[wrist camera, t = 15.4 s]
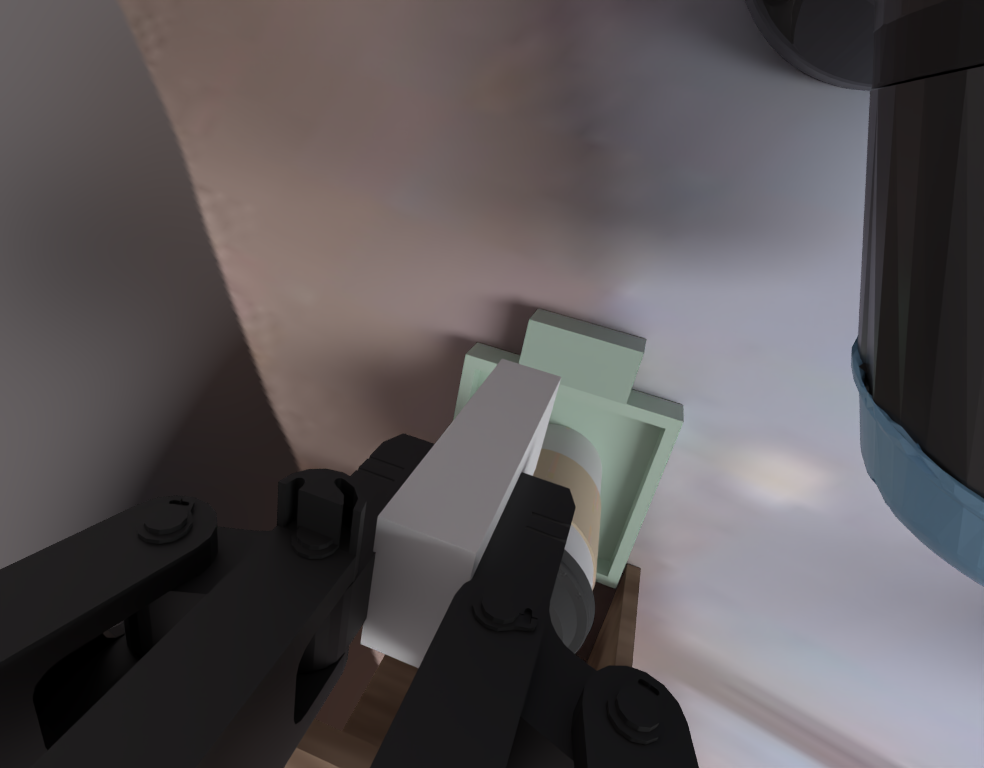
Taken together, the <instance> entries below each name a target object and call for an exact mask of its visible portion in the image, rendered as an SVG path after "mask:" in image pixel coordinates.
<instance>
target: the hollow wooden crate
mask: <svg viewBox="0 0 984 768" xmlns="http://www.w3.org/2000/svg"><path fill="white" fill-rule="evenodd" d="M640 570H641V568H638V567H635V566H632V565H629V564H627V566H626V568H625V571H624V573H623V576H622V578H621V580H620V583H619V585H618V588H617V590H616V593H615V595H614V598H613V600H612V602H611V605H610V607H609V610H608V612H607V615H606V617H605V620H604V622H603V625H602V627H601V629H600V632H599V634H598V637H597V639H596V642H595V644H594V647H593V649H592V652H591V654H590V656H589V659H588V661H587V664H588V665H590V666H591V667H592V668H594V669H595V670H596V671H598V670H600V669H602V668H604V667H606V666H609V665H615V666H629V667H632V662H633V651H634V639H635V628H636V616H637V605H638V593H639V582H640ZM359 630H360V629H359ZM357 633H358V632H357ZM417 670H418V668H417V667H414V666H412V665H410V664H407V663H405V662H403V661H400V660H398V659H395V658H393V657H391V656H388V655H386V654H385V656H384V658H383V660H382V661H381V663H380V665H379V667H378V668H377V670H376V672H375V674H374V676H373V677H372V679H371V681H370V683H369V684H368V686H367V688H366V690H365V691H364V693H363V695H362V697H361V699H360V701H359V702H358V704H357V706H356V707H355V709H354V711H353V713H352V714H351V716H350V718H349V720H348V722H347V723H346V725H345V727H344V729H343V730H342V731H341V730H338V729H336V728H334V727H332V726H330V725H327V724H325V723H323V722H320V721H319V720H317V719H314V720H313V722H312V723H311V725H310V726H309V728H308V730H307V731H306V733H305V735H304V736H303V738H302V739H301V741H300V743H299V744H298V746H297V747H296V749H295V751H294V752H293V754H292V756H291V757H290V759H289V760H288V762H287V764H286V765H285V767H284V768H370V766H371V764H372V762H373V760H374V758H375V756H376V754H377V752H378V750H379V748H380V746H381V744H382V742H383V740H384V738H385V736H386V734H387V731H388V729H389V727H390V725H391V723H392V721H393V719H394V717H395V715H396V713H397V711H398V709H399V707H400V705H401V703H402V701H403V699H404V697H405V695H406V693H407V691H408V689H409V687H410V685H411V683H412V681H413V679H414V677H415V675H416V672H417Z"/></svg>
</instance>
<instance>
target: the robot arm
mask: <svg viewBox="0 0 984 768" xmlns="http://www.w3.org/2000/svg"><path fill="white" fill-rule="evenodd" d="M746 3H747V6H748V9H749V11H750V13H751V15H752V17H753V20H754V21H755V23H756V25H757V27H758V28H759V30H760V32H761V33H762V34H763V36H764V37H765V39H766V40H767V41H768V42H769V44H770V45H771V46H772V47H773V48H774V49H775V50H776V51H777V52H778V53H779V54H780V55H781V56H782V57H783V58H784V59H785V60H786V61H788V62H789V63H790V64H791V65H793V66H794V67H796V68H797V69H799V70H800V71H802V72H804V73H806V74H807V75H809V76H811V77H813V78H816V79H818V80H820V81H823V82H826V83H829V84H832V85H835V86H840V87H844V88H849V89H856V90H867V91H870V106H869V127H868V147H867V167H866V187H865V208H864V228H863V248H862V268H861V289H860V309H859V329H858V337H857V339H856V341H855V343H854V344H853V346H852V354H851V367H852V373H853V378H854V381H855V384H856V386H857V388H858V391H859V403H860V444H861V452H862V457H863V460H864V463H865V466H866V469H867V473H868V474H869V476H870V478H871V479H872V480H873V481H874V482H875V483H876V485H877V487H878V489H879V490H880V492H881V494H882V496H883V499H884V501H885V503H886V504H887V505H888V506H889V507H890V509H891V511H892V512H893V514H894V515H895V516H896V517H897V518H898V520H899V521H900V522H902V523H903V524H904V525H905V526H906V527H907V528H908V529H909V530H910V531H911V532H912V533H913V534H914V535H915V536H916V537H917V538H918V539H919V540H920V541H921V542H922V543H923V544H924V545H926V546H927V547H928V548H929V549H930V550H932V551H933V552H934V553H935V554H937V555H938V556H939V557H940V558H942V559H943V560H944V561H946V562H947V563H948V564H950V565H951V566H953V567H954V568H956V569H957V570H959V571H960V572H961V573H963V574H964V575H966V576H968V577H969V578H971V579H972V580H974V581H975V582H977V583H978V584H980V585H982V586H983V587H984V0H746ZM560 380H561V377H560V376H557V375H554V374H550V373H547V372H544V371H541V370H537V369H534V368H531V367H528V366H524V365H521V364H518V363H515V362H511V361H508V360H505V359H501V361H500V362H499V363H498V364H497V366H496V367H495V368H494V369H493V371H492V372H491V373H490V375H489V376H488V377H487V378H486V380H485V381H484V382H483V383H482V385H481V386H480V387H479V389H478V390H477V391H476V392H475V394H474V395H473V396H472V397H471V399H470V400H469V401H468V402H467V404H466V405H465V406H464V408H463V409H462V410H461V411H460V413H459V414H458V415H457V416H456V418H455V419H454V420H453V422H452V423H451V424H450V425H449V427H448V428H447V429H446V430H445V432H444V433H443V434H442V435H441V437H440V438H439V439H438V441H437V442H436V443H435V444H433V443H430V442H427V441H424V440H421V439H418V438H416V437H413V436H410V435H407V434H401V435H399V436H397V437H394V438H392V439H390V440H387V441H385V442H383V443H382V444H381V445H380V446H379V447H378V448H377V449H376V450H375V451H374V452H373V453H372V454H371V455H370V458H369V459H367V460H366V461H365V462H364V463H363V464H362V465H361V466H360V467H359V469H358V471H357V470H356V471H355V472H354V473H353V474H352V475H351V476H349V475H347V474H345V473H343V472H338V471H334V470H329V469H308V470H304V471H300V472H296V473H293V474H291V475H289V476H287V477H286V478H284V479H282V480H280V481H279V482H278V512H277V526H276V527H275V528H274V529H273V530H272V531H253V530H244V529H235V528H225V527H217V517H216V512H215V511H214V510H213V509H212V507H211V506H210V505H209V504H208V503H206V502H204V501H201V500H199V499H197V498H194V497H185V496H168V497H159V498H155V499H152V500H149V501H146V502H143V503H141V504H138V505H136V506H134V507H131V508H130V509H127V510H125V511H123V512H121V513H119V514H117V515H115V516H112V517H110V518H108V519H106V520H104V521H102V522H100V523H98V524H96V525H93V526H91V527H89V528H87V529H85V530H83V531H81V532H79V533H76V534H75V535H72V536H70V537H68V538H66V539H64V540H62V541H59V542H57V543H55V544H53V545H51V546H49V547H47V548H45V549H43V550H40V551H39V552H36V553H34V554H32V555H30V556H28V557H26V558H24V559H22V560H20V561H17V562H15V563H13V564H11V565H9V566H7V567H5V568H2V569H0V768H284V767H285V765H286V764H287V762H288V760H289V759H290V757H291V756H292V754H293V752H294V751H295V749H296V747H297V746H298V744H299V743H300V741H301V739H302V738H303V736H304V735H305V733H306V731H307V730H308V728H309V726H310V725H311V723H312V722H313V720H314V718H315V717H316V715H317V714H318V712H319V710H320V709H321V707H322V705H323V704H324V702H325V701H326V699H327V697H328V696H329V694H330V692H331V691H332V689H333V688H334V686H335V684H336V683H337V681H338V679H339V678H340V676H341V675H342V673H343V670H344V668H345V665H346V662H347V659H348V650H349V645H350V643H351V642H352V640H353V639H354V637H355V636H356V634H357V632H358V631H359V629H360V628H361V626H362V625H363V630H362V638H361V644H362V645H365V646H367V647H369V648H372V649H374V650H376V651H379V652H381V653H384V654H386V655H388V656H391V657H393V658H395V659H398V660H400V661H403V662H405V663H407V664H410V665H412V666H414V667H417V668H418V670H417V672H416V675H415V677H414V679H413V681H412V683H411V685H410V687H409V689H408V691H407V693H406V695H405V697H404V699H403V701H402V703H401V705H400V707H399V709H398V711H397V713H396V715H395V717H394V719H393V721H392V723H391V725H390V727H389V729H388V731H387V734H386V736H385V738H384V740H383V742H382V744H381V746H380V748H379V750H378V752H377V754H376V756H375V758H374V760H373V762H372V764H371V766H370V768H699V766H698V762H697V758H696V754H695V750H694V747H693V743H692V739H691V735H690V731H689V727H688V723H687V721H686V719H685V716H684V714H683V712H682V709H681V707H680V705H679V703H678V702H677V700H676V699H675V698H674V697H673V696H672V694H671V693H670V692H669V691H668V689H667V688H666V687H665V686H664V685H663V684H661V683H660V682H659V681H657V680H656V679H654V678H653V677H652V676H650V675H649V674H647V673H646V672H643V671H641V670H638V669H635V668H632V667H629V666H615V665H609V666H606V667H604V668H602V669H600V670H598V671H596V670H595V669H594V668H592V667H591V666H590V665H588V664H587V663H586V662H584V661H583V660H582V659H580V658H579V657H578V656H577V655H575V654H574V653H573V652H572V651H571V650H570V649H569V648H568V647H566V645H565V644H564V643H563V641H562V640H561V639H560V638H559V636H558V635H557V633H556V631H555V629H554V627H553V625H552V622H551V617H550V612H549V609H550V600H551V596H552V593H553V589H554V585H555V582H556V578H557V574H558V571H559V567H560V563H561V560H562V556H563V553H564V549H565V545H566V541H567V538H568V534H569V531H570V527H571V523H572V520H573V516H574V512H575V509H576V506H575V503H574V500H573V497H572V494H571V491H570V488H567V487H564V486H561V485H558V484H555V483H552V482H549V481H546V480H543V479H540V478H538V477H535V476H533V474H534V471H535V469H536V466H537V462H538V458H539V455H540V451H541V448H542V444H543V441H544V437H545V434H546V430H547V426H548V423H549V419H550V416H551V412H552V409H553V405H554V402H555V398H556V394H557V391H558V387H559V384H560ZM121 621H123V623H122V624H120V625H118V626H116V627H113V626H115V625H116V624H118V623H120V622H121ZM112 627H113V628H112ZM110 628H111V629H110Z"/></svg>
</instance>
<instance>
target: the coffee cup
mask: <svg viewBox="0 0 984 768" xmlns="http://www.w3.org/2000/svg"><path fill="white" fill-rule="evenodd" d="M533 476H535V477H538V478H540V479H543V480H546V481H549V482H552V483H555V484H558V485H561V486H564V487H567V488H570V491H571V494H572V497H573V500H574V503H575V506H576V509H575V512H574V516H573V520H572V523H571V527H570V531H569V534H568V538H567V541H566V545H565V549H564V553H563V556H562V560H561V563H560V567H559V571H558V574H557V578H556V582H555V585H554V589H553V593H552V596H551V600H550V609H549V612H550V617H551V622H552V625H553V627H554V629H555V631H556V633H557V635H558V636H559V638H560V639H561V640H562V641H563V643H564V644H565V645H566V647H568V648H569V649H570V650H571V651H572V652H573V653H574V654H575V653H576V652H577V651H578V650H579V649H580V647H581V646H582V644H583V643H584V641H585V639H586V636H587V635H588V633H589V631H590V629H591V627H592V624H593V620H594V615H595V602H594V595H593V588H594V585H595V581H596V572H597V558H598V544H599V530H600V517H601V499H600V492H601V480H602V464H601V459H600V457H599V454H598V452H597V450H596V449H595V447H594V446H593V444H592V443H591V442H590V441H589V440H588V439H587V438H586V437H585V436H583V435H582V434H580V433H579V432H577V431H575V430H573V429H571V428H569V427H566V426H562V425H557V424H548V426H547V430H546V434H545V437H544V441H543V444H542V448H541V451H540V455H539V458H538V462H537V466H536V469H535V471H534V474H533Z"/></svg>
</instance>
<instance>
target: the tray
mask: <svg viewBox="0 0 984 768" xmlns="http://www.w3.org/2000/svg"><path fill="white" fill-rule="evenodd" d="M645 343H646V339H643V338H640V337H636V336H633V335H629V334H626V333H623V332H619V331H616V330H612V329H609V328H605V327H602V326H598V325H595V324H591V323H588V322H584V321H581V320H577V319H574V318H570V317H567V316H563V315H560V314H556V313H553V312H550V311H546V310H543V309H539V308H538V309H537V310H536V312H535V313H534V314H533V315H532V317H531V318H530V319H529V323H528V327H527V331H526V335H525V339H524V343H523V348H522V352H521V355H517V354H514V353H511V352H507V351H504V350H501V349H498V348H494V347H491V346H488V345H485V344H481V343H478V342H477V343H476V344H475V345H474V346H473V347H472V348H471V349H470V350H469V351H468V352H467V353H466V355H465V360H464V366H463V371H462V376H461V381H460V386H459V392H458V397H457V402H456V407H455V412H454V418H453V420H454V419H455V418H456V416H457V415H458V414H459V413H460V411H461V410H462V409H463V408H464V406H465V405H466V404H467V402H468V401H469V400H470V399H471V397H472V396H473V395H474V394H475V392H476V391H477V390H478V389H479V387H480V386H481V385H482V383H483V382H484V381H485V380H486V378H487V377H488V376H489V375H490V373H491V372H492V371H493V369H494V368H495V367H496V366H497V364H498V363H499V362H500V361H501V359H505V360H508V361H511V362H515V363H518V364H521V365H524V366H528V367H531V368H534V369H537V370H541V371H544V372H547V373H550V374H554V375H557V376H560V377H561V380H560V384H559V387H558V391H557V394H556V398H555V402H554V405H553V409H552V412H551V416H550V419H549V423H548V424H557V425H562V426H566V427H569V428H571V429H573V430H575V431H577V432H579V433H580V434H582V435H583V436H585V437H586V438H587V439H588V440H589V441H590V442H591V443H592V444H593V446H594V447H595V449H596V450H597V452H598V454H599V457H600V459H601V464H602V480H601V492H600V499H601V517H600V530H599V544H598V558H597V572H596V581H595V582H598V583H601V584H604V585H606V586H609V587H612V588H614V589H616V587H617V584H618V582H619V579H620V577H621V574H622V572H623V569H624V567H625V565H626V562H627V560H628V557H629V555H630V552H631V550H632V547H633V545H634V542H635V540H636V537H637V535H638V533H639V530H640V528H641V525H642V523H643V520H644V518H645V515H646V513H647V510H648V508H649V505H650V503H651V501H652V498H653V496H654V493H655V491H656V488H657V486H658V483H659V481H660V478H661V476H662V474H663V471H664V469H665V466H666V464H667V461H668V459H669V456H670V454H671V451H672V449H673V446H674V444H675V442H676V439H677V437H678V434H679V432H680V429H681V427H682V424H683V422H684V421H683V405H681V404H678V403H675V402H671V401H668V400H665V399H662V398H658V397H655V396H652V395H648V394H645V393H642V392H639V391H635V390H632V386H633V383H634V380H635V377H636V374H637V372H638V369H639V366H640V363H641V360H642V357H643V354H644V350H645Z"/></svg>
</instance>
